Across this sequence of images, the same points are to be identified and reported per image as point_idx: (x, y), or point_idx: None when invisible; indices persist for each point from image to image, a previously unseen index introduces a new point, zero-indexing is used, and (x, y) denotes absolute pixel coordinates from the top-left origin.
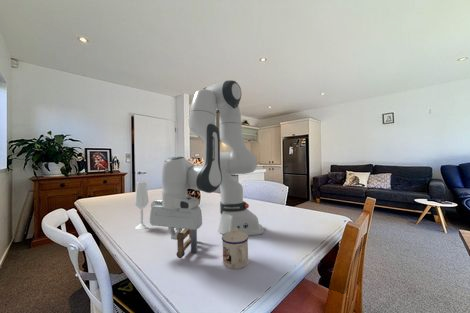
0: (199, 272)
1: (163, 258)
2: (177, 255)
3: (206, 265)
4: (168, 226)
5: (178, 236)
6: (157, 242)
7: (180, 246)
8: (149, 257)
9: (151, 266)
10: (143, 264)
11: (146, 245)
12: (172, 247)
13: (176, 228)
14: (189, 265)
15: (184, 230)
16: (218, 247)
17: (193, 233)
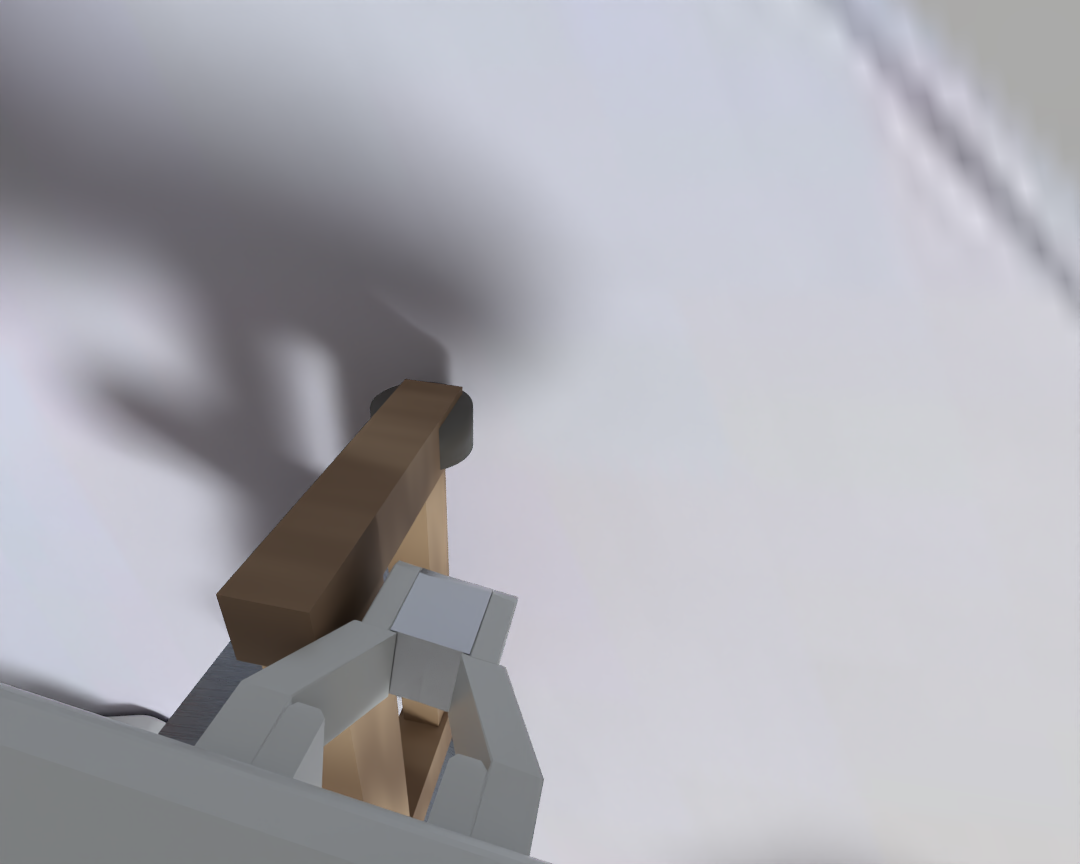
0: (77, 76)
1: (672, 415)
2: (462, 402)
3: (94, 244)
4: (477, 857)
5: (307, 575)
6: (878, 758)
7: (361, 457)
8: (883, 450)
9: (775, 212)
10: (924, 268)
11: (1011, 721)
12: (651, 638)
13: (279, 755)
14: (274, 243)
15: (337, 767)
16: (181, 581)
17: (224, 695)
